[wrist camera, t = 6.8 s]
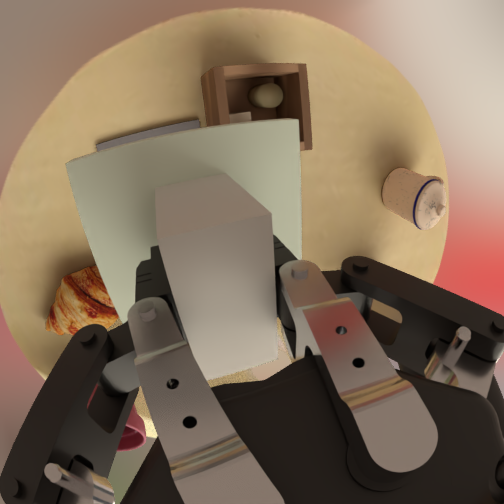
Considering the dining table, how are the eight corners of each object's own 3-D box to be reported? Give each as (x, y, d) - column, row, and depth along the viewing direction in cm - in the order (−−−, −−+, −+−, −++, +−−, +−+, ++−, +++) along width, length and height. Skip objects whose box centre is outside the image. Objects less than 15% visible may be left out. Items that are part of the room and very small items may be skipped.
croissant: (65, 319, 41) (73, 359, 38) (23, 302, 33) (27, 348, 29) (151, 260, 42) (167, 304, 38) (112, 229, 33) (125, 279, 29)
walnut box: (276, 71, 31) (306, 63, 25) (283, 140, 36) (312, 149, 30) (200, 77, 29) (213, 67, 22) (210, 152, 34) (225, 162, 27)
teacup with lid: (385, 220, 49) (429, 247, 40) (375, 180, 44) (424, 203, 35) (423, 189, 49) (466, 210, 40) (415, 151, 44) (463, 168, 35)
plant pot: (153, 393, 52) (161, 444, 41) (103, 408, 50) (105, 455, 39) (114, 354, 44) (114, 414, 33) (62, 373, 42) (56, 426, 32)
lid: (279, 117, 13) (376, 131, 7) (286, 281, 18) (346, 358, 12) (77, 156, 11) (12, 201, 5) (132, 321, 16) (137, 421, 10)
